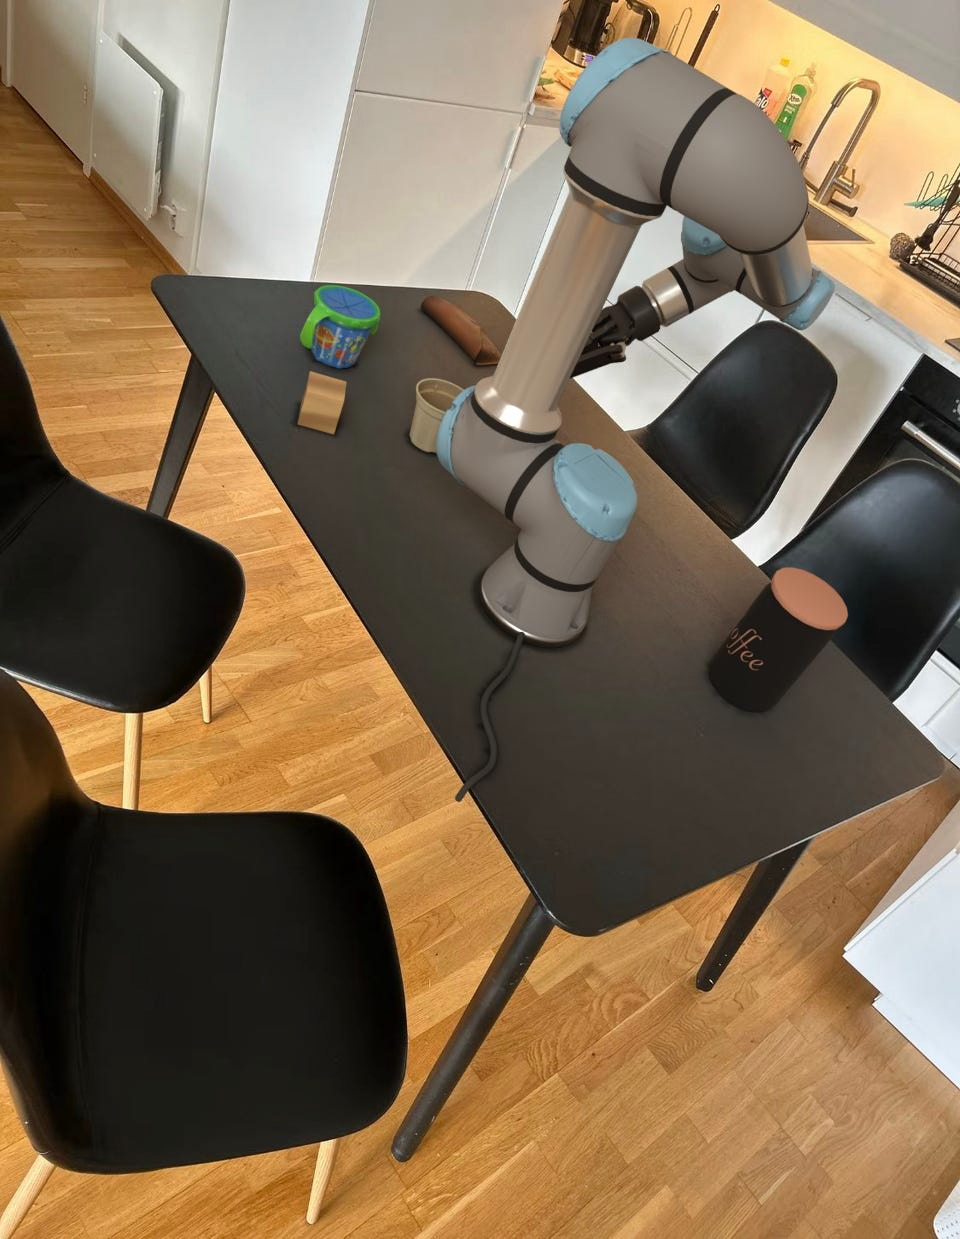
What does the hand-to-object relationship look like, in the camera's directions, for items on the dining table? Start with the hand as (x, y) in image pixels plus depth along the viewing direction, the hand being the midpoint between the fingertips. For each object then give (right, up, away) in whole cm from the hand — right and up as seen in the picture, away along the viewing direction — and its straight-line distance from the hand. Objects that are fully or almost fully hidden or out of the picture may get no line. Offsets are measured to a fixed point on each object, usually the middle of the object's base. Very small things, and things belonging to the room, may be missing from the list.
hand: (512, 385), depth 150 cm
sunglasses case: (-8, +17, +33) cm, 38 cm away
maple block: (-29, -6, -3) cm, 30 cm away
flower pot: (-13, -8, +3) cm, 16 cm away
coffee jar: (+31, -45, -13) cm, 56 cm away
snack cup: (-29, +7, +11) cm, 32 cm away
